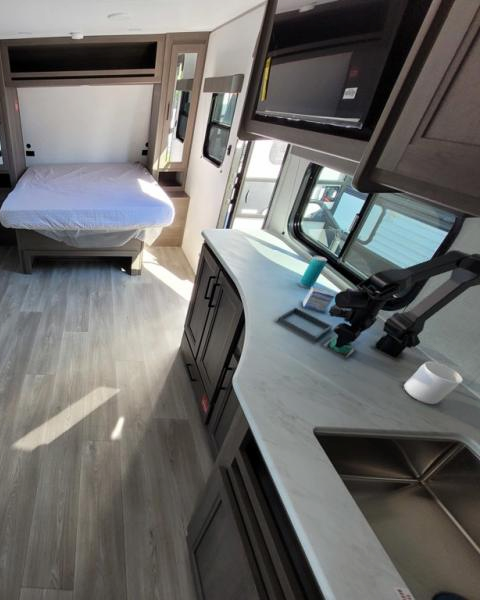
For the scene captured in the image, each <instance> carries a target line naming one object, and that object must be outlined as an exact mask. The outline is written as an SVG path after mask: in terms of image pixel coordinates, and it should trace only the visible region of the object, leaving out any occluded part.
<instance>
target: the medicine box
mask: <svg viewBox="0 0 480 600" xmlns="http://www.w3.org/2000/svg"><path fill="white" fill-rule="evenodd" d="M334 299H335V294H334V292H333V291H330V290H326V289H321V288H318V287H314V286H312V287H311V288H309V291H308V292H307V294H306V296H305V298H304V299H303V301H302V305H303V307H304V308H307V309H311V310H315V311H319V312H323V313H325V312H326V311H327V309H328V308H329V306H330V304H331V303H332V301H333V300H334Z"/></svg>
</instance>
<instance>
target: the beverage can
mask: <svg viewBox="0 0 480 600" xmlns="http://www.w3.org/2000/svg"><path fill="white" fill-rule="evenodd" d="M327 261H328V259H327V258H326V257H324V256H322V255H314V256H313V257H312V259H311V260H310V262H309V264H308V265H307V267H306V269H305V271H304V272H303V275H302V276H301V279H300V281H299V285H300V286H301V287H302V288H305V289H311V287H314V286H315V284H316V282H317V280H318V279H319V277H320V275H321V273H322V272H323V271H324V269H325V267H326V265H327Z"/></svg>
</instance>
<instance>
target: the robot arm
mask: <svg viewBox="0 0 480 600" xmlns="http://www.w3.org/2000/svg"><path fill="white" fill-rule="evenodd" d="M449 272H451V274H450V277H449V278H447V280H446V281H444V282H443V283H442V284H440V285H439V286H438V287H437V288H435V289H434V290H433V291H432V292H431V293H429V294H428V295H427V296H426V297H424V298H423V299H422V300H421V301H419V302H418V303H417V304H416V305H414V306H413V307H411V308H410V309H409V310H408V311H404V312H398V311H397V312H394V313H393V314H392V315H391V316H390V317H388V318H387V319H386V320H385V322H384V323H383V327H382V331H383V332H384V333H386V334H383V335H381V337H380V338H379V339H378V340H377V342H376V343H375V347H374V348H375V349H376V350H378V351H380V352H382V353H383V354H386V355H388V356H390V357H392V358H394V359H398V358H399V357H400V355H401V354H402V353H403V352H404V350H405V349H406V348H408V349H411V348H416V347H417V346H419V345H420V344H421V340H420V338H419V335H420V334H421V333H422V332H423V331H424V328H425V323H426V322H427V321H428V320H429V319H430V318H432V317H433V316H434V315H435V314H437V313H438V312H440V311H441V310H442V309H443V308H445V307H446V306H447V305H449V304H450V303H451V302H453V301H454V300H455V299H457V298H458V297H459V296H460V295H462V294H463V293H464V292H465V291H467V290H468V289H470V288H473V287H477V286H480V253H472V254H469V253H468V252H465V251H461V250H458V249H457V250H456V249H452V250H449V251H447V252H446V253H445V254H442V255H439V256H437V257H434V258H431V259H428V260H425V261H423V262H420V263H416V264H413V265H411V266H408V267H405V268H400V269H399V268H390V269H386V270H380V271H377V272H376V273H373V274H372V275H370V276H369V277H367V278H366V279H364V280H363V281H361V282H359V283H358V284H356V285H355V288H350V287H347V288H346V289H345V290H340V291H339V292H338V293H336V295H334V304H333V305H332V306H330V308H329V310H328V314H329V316H330V317H335V318H341V319H343V321H344V322H340V323H339V324H338V325H336V326H335V327H334V329H333V330H332V331H333V332H334V334H336V336H338V338H337V342H336V347H337V348H340V347H342V346H344V345H346V344H348V343H351V342H353V343H354V342H355V341H356V340H357V339H358V338H359V337H360V336H361V335H362V333H363V332H365V331H366V330H368V329H370V328H371V327H372V326H373V325H374V324H375V323H376V322H377V320H378V318H377V316H378V315H379V313H380V311H381V310H382V308H383V307H384V306H385V304H386V303H387V302H388V301H395V300H396V297H395V295H397V294H400V293H402V292H404V291H406V290H407V289H408V288H410V286H411V285H413V284H415V283H418V282H421V281H423V280H427V279H429V278H433V277H435V276H440V275H442V274H445V273H449ZM371 287H372V288H373V289H372V288H371ZM346 322H347V323H346Z"/></svg>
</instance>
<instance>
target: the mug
mask: <svg viewBox="0 0 480 600" xmlns="http://www.w3.org/2000/svg"><path fill="white" fill-rule="evenodd" d="M462 382H464V381H463V377H462V376H461V374H459V373H458V372H457V371H456V370H455V369H453V368H451V367H450V366H447V365H445V364H443V363H440V362H437V361H425V362H424V363H422V364H421V366H419V367H418V369H417V370H416V371H415V372H414V373H413V374H412V376H410V377H409V378H408V380H406V381H405V383H404V384H403V388H404V390H405V391H406V393H407V394H408V395H409V396H411V397H412V398H413V399H415V400H417V401H419V402H421V403H424V404H429V405H435V404H438V403H439V402H441V401H442V400H443V399H444V398H445V397H446V396H448V395H449V394H450V393H451V392H452V391H453V390H454V389H456V388H457V387H458V386H459V385H460V384H461V383H462Z"/></svg>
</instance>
